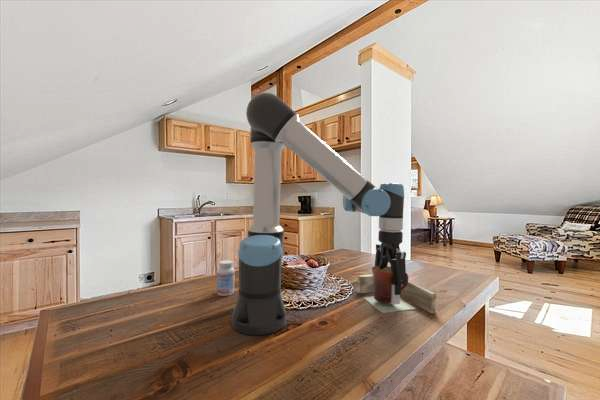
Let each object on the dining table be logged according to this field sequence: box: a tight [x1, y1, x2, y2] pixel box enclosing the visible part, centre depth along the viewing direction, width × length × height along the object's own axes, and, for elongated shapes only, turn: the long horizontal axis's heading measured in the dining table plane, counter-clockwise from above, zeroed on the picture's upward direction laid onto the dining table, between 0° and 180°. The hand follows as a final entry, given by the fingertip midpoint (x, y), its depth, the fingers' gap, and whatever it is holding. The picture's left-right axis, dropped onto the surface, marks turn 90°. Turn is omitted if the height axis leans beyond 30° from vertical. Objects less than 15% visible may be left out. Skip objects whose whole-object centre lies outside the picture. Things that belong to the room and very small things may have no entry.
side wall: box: [357, 274, 373, 294], centre depth 103 cm, size 14×2×6 cm, turn 105°
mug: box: [371, 265, 409, 303], centre depth 92 cm, size 12×9×10 cm
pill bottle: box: [216, 259, 236, 297], centre depth 98 cm, size 6×6×11 cm
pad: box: [362, 296, 417, 314], centre depth 92 cm, size 12×12×1 cm
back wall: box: [400, 279, 437, 314], centre depth 96 cm, size 2×21×6 cm, turn 15°
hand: (388, 298), depth 92 cm, fingers closed on mug, 7 cm apart
